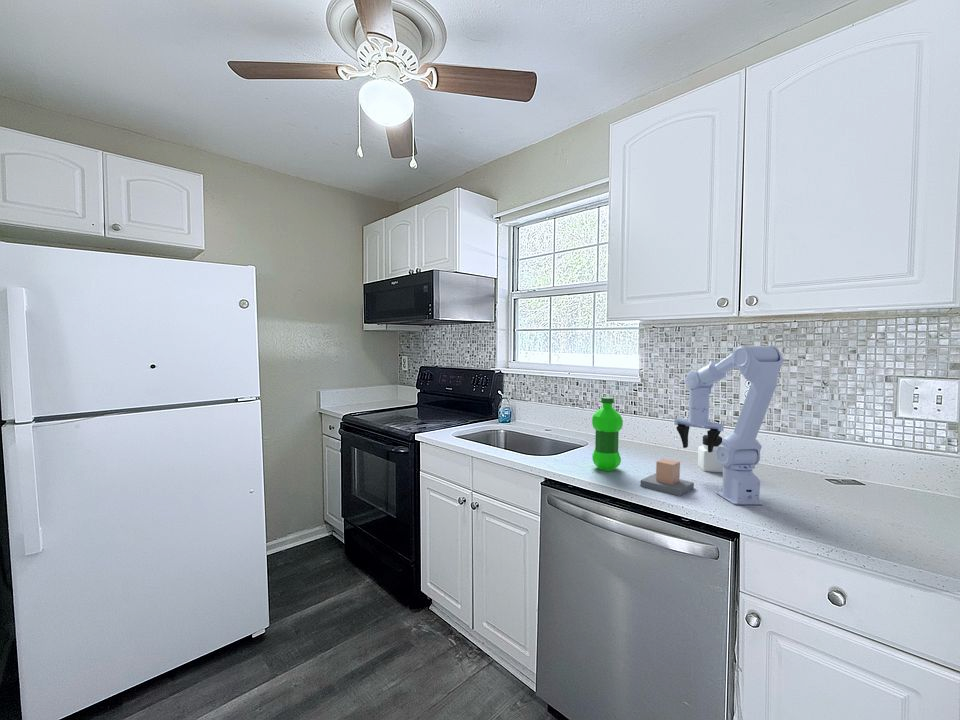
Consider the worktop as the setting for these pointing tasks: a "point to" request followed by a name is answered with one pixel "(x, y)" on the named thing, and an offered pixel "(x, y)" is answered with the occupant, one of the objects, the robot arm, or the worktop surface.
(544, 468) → the worktop surface
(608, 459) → the plastic bottle
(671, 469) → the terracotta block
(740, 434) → the robot arm
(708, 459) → the medicine bottle
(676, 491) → the charcoal base
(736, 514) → the worktop surface
